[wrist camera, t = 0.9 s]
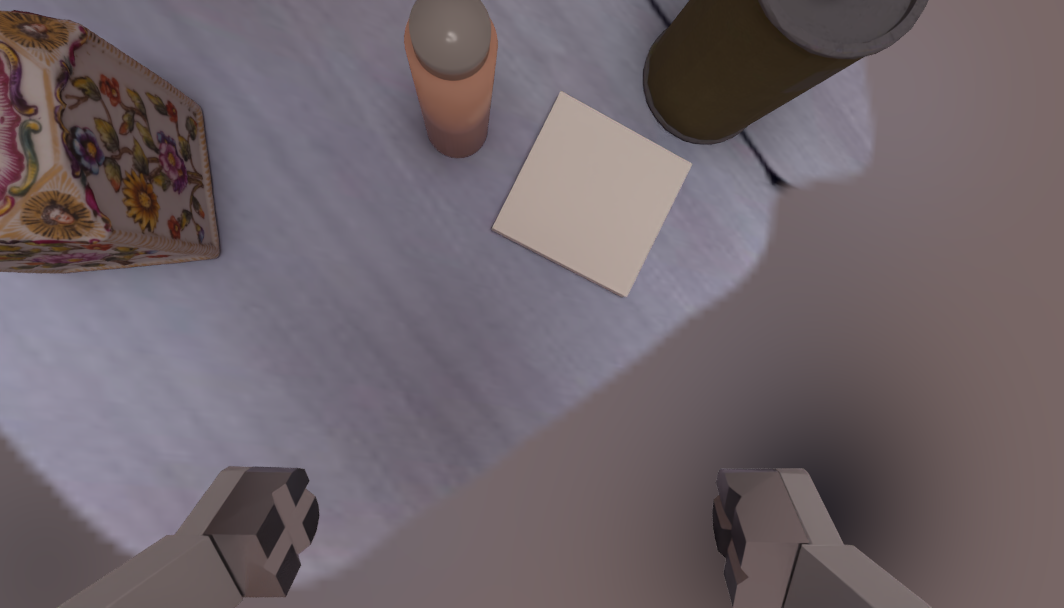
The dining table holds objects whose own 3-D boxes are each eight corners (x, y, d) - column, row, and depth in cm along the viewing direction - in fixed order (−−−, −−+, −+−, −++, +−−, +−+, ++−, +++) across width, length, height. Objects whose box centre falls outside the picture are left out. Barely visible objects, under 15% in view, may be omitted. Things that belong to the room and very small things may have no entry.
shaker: (416, 140, 43) (383, 45, 26) (443, 86, 43) (427, -42, 27) (471, 168, 43) (472, 94, 27) (497, 115, 44) (516, 8, 27)
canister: (689, 169, 46) (861, 75, 26) (617, 64, 45) (737, -118, 25) (789, 95, 46) (1029, -51, 26) (720, -9, 45) (916, -242, 26)
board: (491, 230, 44) (492, 227, 42) (557, 97, 44) (560, 90, 43) (621, 297, 45) (626, 297, 44) (685, 168, 45) (692, 163, 44)
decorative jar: (207, 104, 41) (6, -40, 23) (227, 258, 41) (44, 234, 24) (34, 116, 40) (-321, -27, 22) (56, 275, 40) (-274, 263, 22)
